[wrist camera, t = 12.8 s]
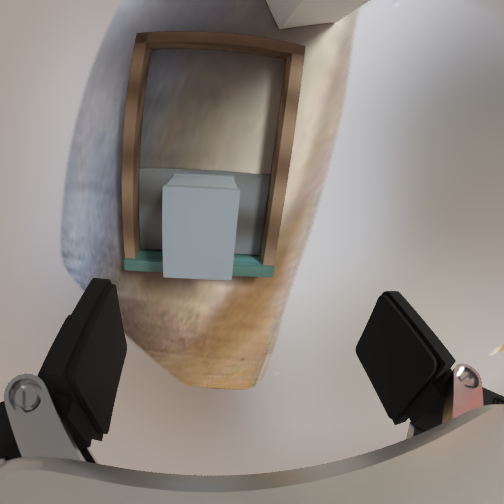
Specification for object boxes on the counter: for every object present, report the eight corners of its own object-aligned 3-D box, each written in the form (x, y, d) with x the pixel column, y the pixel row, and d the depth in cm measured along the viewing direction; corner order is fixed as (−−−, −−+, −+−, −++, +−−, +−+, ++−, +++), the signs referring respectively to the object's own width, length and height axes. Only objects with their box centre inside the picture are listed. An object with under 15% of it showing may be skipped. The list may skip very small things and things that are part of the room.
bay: (142, 40, 20) (135, 31, 18) (298, 51, 23) (306, 44, 20) (131, 257, 31) (124, 270, 28) (268, 264, 33) (272, 277, 31)
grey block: (174, 172, 27) (162, 186, 21) (234, 175, 28) (240, 190, 22) (172, 245, 30) (163, 277, 24) (227, 247, 31) (231, 280, 25)
